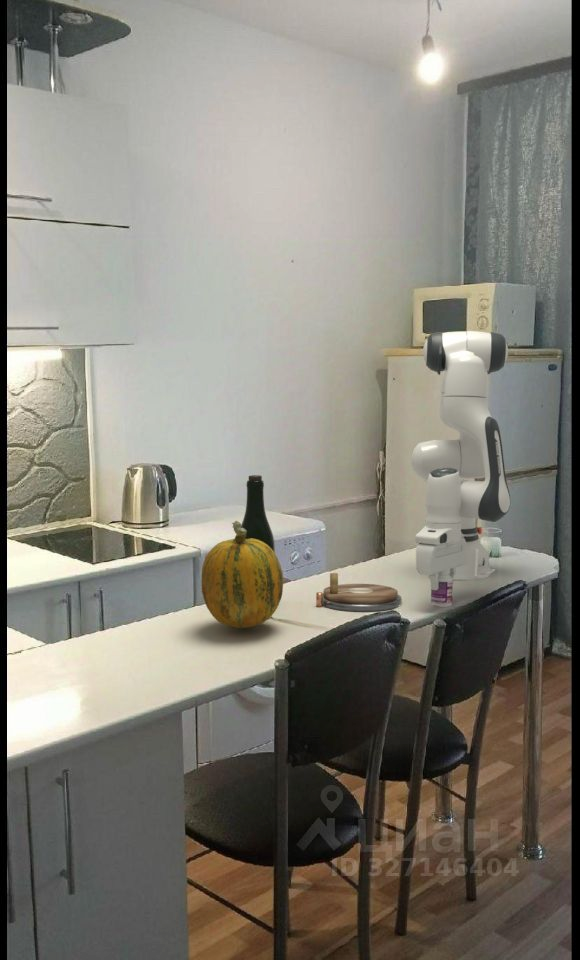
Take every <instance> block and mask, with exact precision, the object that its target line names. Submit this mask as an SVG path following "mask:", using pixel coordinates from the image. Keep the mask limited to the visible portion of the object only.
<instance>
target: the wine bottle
mask: <svg viewBox="0 0 580 960" xmlns="http://www.w3.org/2000/svg"><path fill="white" fill-rule="evenodd" d="M262 479H263V476H262V475H259V474H258V475H255V474H252V475H249V476H248V480H247V481H246V505H245V512H244V517H243V520H242V522H241V528H244V529H245V530H246V531H247V533H246V538H245V539H250V538H253V539H257V540H260V541H262V542H264V543H266V544H267V545H268V546H269V547H270V548H271V549H272V550H273V551H274V553H275V554H276V546H275V545H276V544H275V539H274V534H273V532H272V528H271V526H270V523H269V521H268V517H267V515H266V509H265V508H266V507H265V497H264V490H265V489H264V488H265V487H264V486H265V483H264V480H262Z"/></svg>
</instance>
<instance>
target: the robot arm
mask: <svg viewBox="0 0 580 960" xmlns="http://www.w3.org/2000/svg"><path fill="white" fill-rule="evenodd" d="M506 340H507V339H506V338H505V337H504V335H503V334H500V333H499V332H498V333H497V332H494V331H491V332H485V331H478V330H477V331H476V330H464V331H461V330H460V331H446V332H445V331H444V332H443V331H436V332H431V333H430V334H429V335H428V336H427V338H426V341H425V342H424V344H423V349H422V355H423V356H422V357H423V360H424V363H425V366H426V367H427V368H428V369H429V370H430V371H433V372H436V373H437V375H439V376H440V375H441V372H442V377H441V385H440V386H441V387H440V399H439V400H440V403H439V418H440V420H441V421H442V423H443V424H444V425H445V426H447V427H448V428H450V429H453V430H455V431H456V432H458V433H459V438H458V439H433V440H432V439H431V440H428V441H427V440H426V441H421V442H418V443H417V444H416V446H414V448H413V451H412V453H411V459H410V461H411V467H412V469H413V471H414V472H415V474H416V475H417V476H419V477H420V478H421V479H422V480H423V481H425V483H426V488H425V489H426V490H425V506H426V517H425V524H424V526H423V527H422V529H421V530H420V531H419V532H417V533H416V535H415V543H416V544H417V545H416V551H415V552H416V553H415V556H416V557H415V559H416V561H415V563H416V564H415V567H416V571H417V573H418V574H419V575H425V576H428V578H429V581H430V588H431V589H432V590H438V589H440V582H438V576H439V572H442V571H445V570H447V569H450V574H449V576H451V577H452V579H453V581H467V580H468V581H469V580H485V579H487V578H488V577H489V576H490V575H491V574H493V573H494V572H495V571H496V569H495V568H491V567H490V554H489V551H488V550H487V549H486V548H485V547H484V545H483V544H482V543H481V542H480V541H479V539H480V535H482V533H483V528H482V527H481V526H479V527H477V526H476V525H477V521H476V520H482V521H487V522H492V523H496V522H498V521H499V520H501V519H502V518H504V517H505V516H506V515H507V513H509V510H510V508H511V495H510V491H509V486H508V483H507V479H506V478H507V476H506V469H505V468H506V467H505V461H504V460H505V458H504V450H503V444H502V443H503V441H502V436H501V430H500V426H499V423H498V421H497V420H496V419H495V418H493V417H492V415H491V412H490V411H489V407H488V378H487V377H488V375H490V374H491V373H495V372H498V371H500V370H501V369H503V368H504V367H505V364H506V362H507V360H508V356H509V348H508V343H507V341H506ZM483 478H484V481H482V480H467V479H483ZM431 589H430V590H431Z"/></svg>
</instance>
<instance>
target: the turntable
mask: <svg viewBox="0 0 580 960" xmlns="http://www.w3.org/2000/svg"><path fill="white" fill-rule="evenodd" d="M322 593H323V597H324V598H325V599H326V600H329V601H332V602H337V603H343V604H355V605H371V604H383V603H388V602H392V601H395V600H396V599H397V598H398V595H399V592H398V589H396V588H395V587H391V586H387V585H381V584H372V583H344V584H339V573H337V572H331V573H330V574H329V586H327V587H325V588H324V589H323V591H322Z"/></svg>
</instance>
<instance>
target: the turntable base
mask: <svg viewBox="0 0 580 960" xmlns="http://www.w3.org/2000/svg"><path fill="white" fill-rule="evenodd" d="M315 593H316V594H315V595H316V596H315V598H316V600H315V601H316V603H315V607H316V608H323V607H324V608H327V609H329V610H330V609H331V610H333V611H334V610H335V611H341V612H342V611H343V612H351V613H352V612H354V613H371V612H372V613H373V612H374V613H376V612H385V611H391V610H394V608H395V609H397V608H398V607H397V606H399V605H400V604H401V605H402V603H403V602H402V601H403V599H402V596H401V595H400V594H398V598H397V599H396V600H395V601H392V602H388V603H383V604H371V605H355V604H343V603H337V602H332V601H329V600H326V599H325V598H324V597H323V591H322V592H321V591H319V592H315ZM401 602H402V603H401ZM401 605H400V606H401ZM400 606H399V607H400ZM396 607H397V608H396Z"/></svg>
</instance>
